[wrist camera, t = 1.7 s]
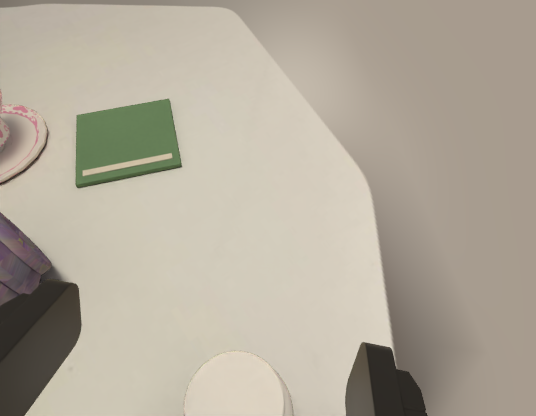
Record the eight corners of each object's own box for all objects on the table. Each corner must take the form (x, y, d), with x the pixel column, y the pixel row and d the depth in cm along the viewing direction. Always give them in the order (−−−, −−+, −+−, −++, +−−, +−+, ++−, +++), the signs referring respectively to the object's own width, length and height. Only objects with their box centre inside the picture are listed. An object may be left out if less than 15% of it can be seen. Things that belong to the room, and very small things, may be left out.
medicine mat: (169, 101, 46) (168, 97, 45) (181, 166, 40) (180, 162, 39) (78, 118, 44) (76, 114, 44) (77, 188, 39) (74, 184, 38)
